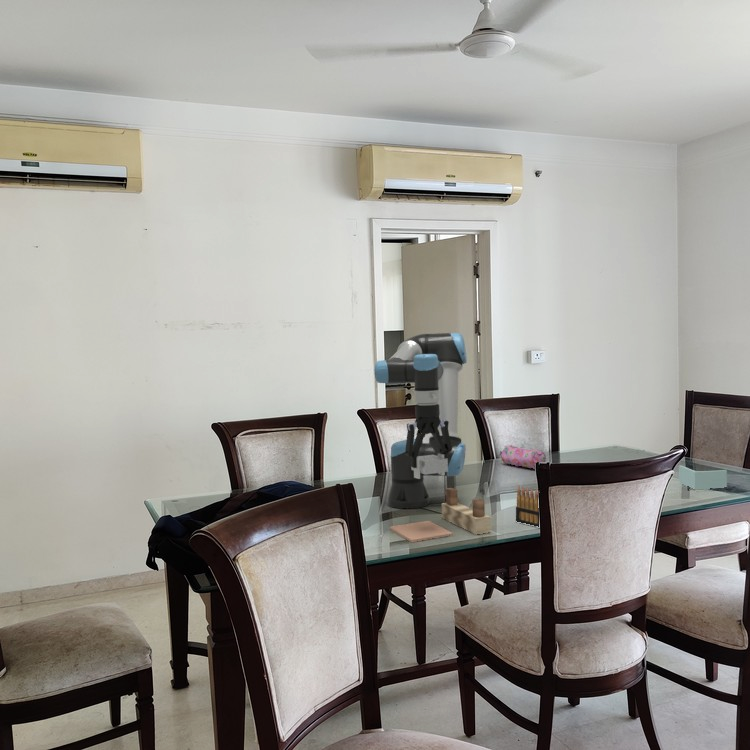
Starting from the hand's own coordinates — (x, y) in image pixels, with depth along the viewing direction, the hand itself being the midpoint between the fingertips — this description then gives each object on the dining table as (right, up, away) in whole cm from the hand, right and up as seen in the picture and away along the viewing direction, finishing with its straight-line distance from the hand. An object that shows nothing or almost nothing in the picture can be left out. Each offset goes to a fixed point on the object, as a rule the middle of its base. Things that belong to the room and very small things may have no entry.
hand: (429, 476), depth 214 cm
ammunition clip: (+32, -16, +4) cm, 36 cm away
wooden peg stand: (+12, -17, +6) cm, 21 cm away
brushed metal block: (0, +2, 0) cm, 2 cm away
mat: (-3, -17, 0) cm, 18 cm away
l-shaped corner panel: (+106, -11, +44) cm, 116 cm away
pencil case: (+49, -10, +94) cm, 107 cm away
